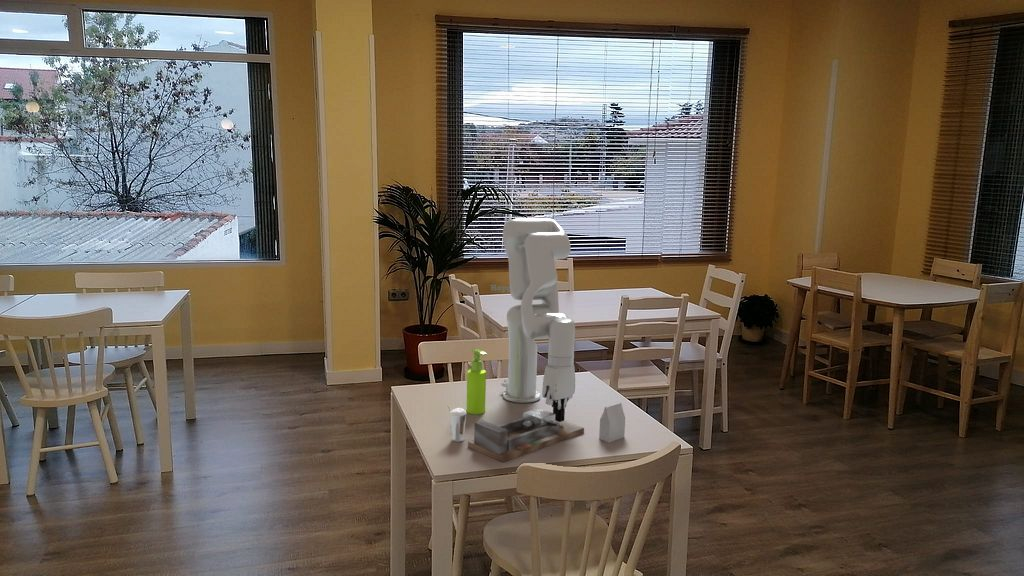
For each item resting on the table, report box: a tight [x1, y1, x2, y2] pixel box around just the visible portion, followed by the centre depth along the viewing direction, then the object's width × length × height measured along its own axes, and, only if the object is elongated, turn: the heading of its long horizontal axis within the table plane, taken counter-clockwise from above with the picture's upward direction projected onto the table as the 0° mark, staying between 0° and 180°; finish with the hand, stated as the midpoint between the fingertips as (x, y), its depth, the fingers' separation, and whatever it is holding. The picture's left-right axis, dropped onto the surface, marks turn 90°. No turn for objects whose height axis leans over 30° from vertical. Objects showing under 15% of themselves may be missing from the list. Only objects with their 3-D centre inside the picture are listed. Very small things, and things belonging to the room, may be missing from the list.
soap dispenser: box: [466, 348, 488, 415], centre depth 231 cm, size 6×7×20 cm
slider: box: [521, 407, 557, 431], centre depth 211 cm, size 9×10×5 cm
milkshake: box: [447, 406, 468, 443], centre depth 208 cm, size 4×5×10 cm
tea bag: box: [598, 402, 626, 444], centre depth 213 cm, size 4×7×10 cm, turn 131°
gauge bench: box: [467, 417, 585, 463], centre depth 210 cm, size 33×14×8 cm, turn 134°
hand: (558, 420), depth 219 cm, fingers closed
